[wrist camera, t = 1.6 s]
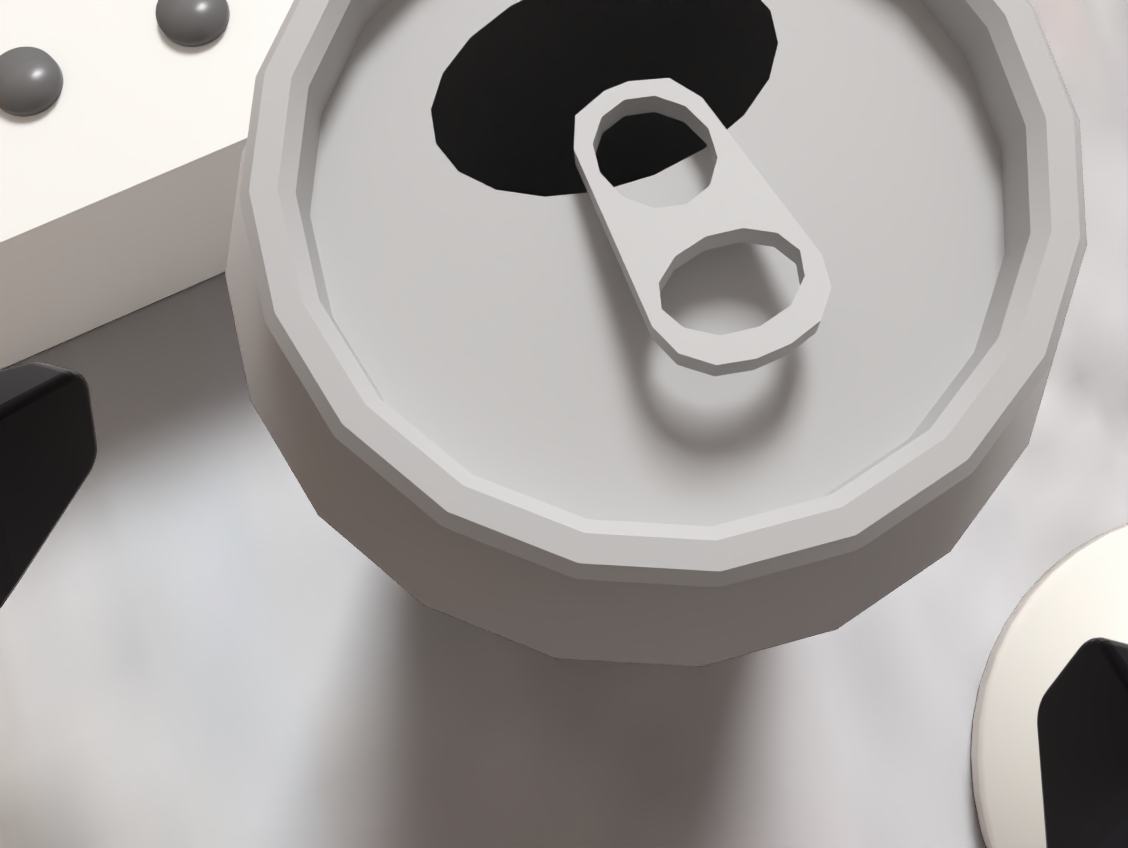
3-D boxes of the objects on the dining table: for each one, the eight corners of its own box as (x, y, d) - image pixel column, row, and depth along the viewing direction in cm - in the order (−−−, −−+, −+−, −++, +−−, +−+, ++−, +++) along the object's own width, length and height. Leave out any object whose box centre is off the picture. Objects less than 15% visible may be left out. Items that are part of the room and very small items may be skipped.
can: (687, 208, 19) (892, -420, 7) (849, 533, 18) (1413, 407, 6) (357, 345, 18) (0, -100, 7) (499, 692, 17) (366, 895, 5)
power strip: (550, 129, 19) (547, -13, 15) (-77, 403, 18) (-287, 338, 14) (454, -56, 20) (424, -244, 16) (-150, 194, 19) (-370, 68, 15)
